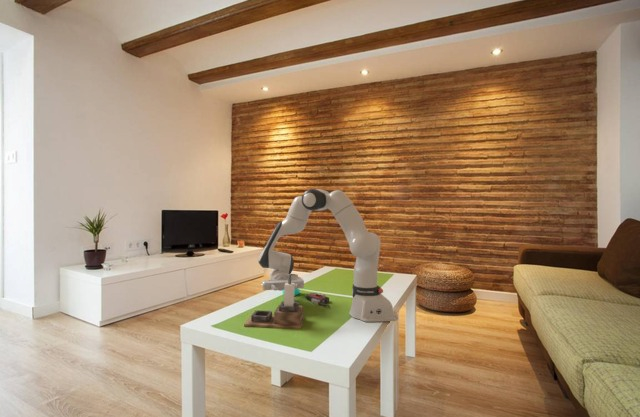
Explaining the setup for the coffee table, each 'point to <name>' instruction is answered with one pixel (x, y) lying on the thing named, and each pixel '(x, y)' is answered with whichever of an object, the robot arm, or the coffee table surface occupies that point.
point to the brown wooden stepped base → (278, 317)
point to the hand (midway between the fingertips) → (285, 288)
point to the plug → (289, 293)
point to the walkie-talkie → (318, 299)
